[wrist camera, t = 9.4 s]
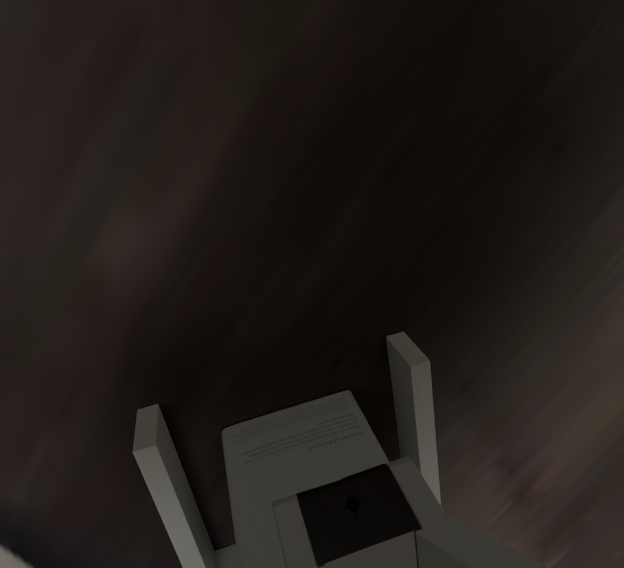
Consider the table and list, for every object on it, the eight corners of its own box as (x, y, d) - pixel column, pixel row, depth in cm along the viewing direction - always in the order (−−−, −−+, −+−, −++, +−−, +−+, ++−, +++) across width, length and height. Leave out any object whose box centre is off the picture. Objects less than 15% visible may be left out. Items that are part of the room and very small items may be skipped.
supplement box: (217, 426, 25) (251, 708, 14) (351, 385, 26) (483, 614, 15) (248, 523, 28) (296, 817, 17) (366, 482, 29) (485, 732, 18)
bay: (137, 409, 24) (132, 452, 21) (403, 331, 26) (429, 360, 23) (202, 568, 29) (205, 618, 26) (419, 490, 31) (442, 529, 28)
